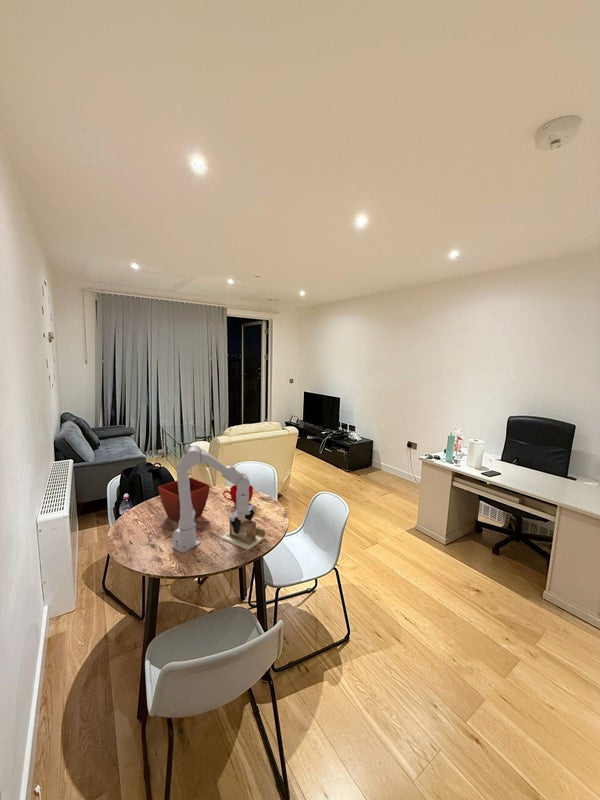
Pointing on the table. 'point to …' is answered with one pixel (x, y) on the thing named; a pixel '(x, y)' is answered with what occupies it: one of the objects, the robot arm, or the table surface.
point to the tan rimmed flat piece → (259, 537)
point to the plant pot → (172, 501)
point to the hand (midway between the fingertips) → (242, 529)
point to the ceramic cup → (233, 493)
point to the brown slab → (245, 530)
